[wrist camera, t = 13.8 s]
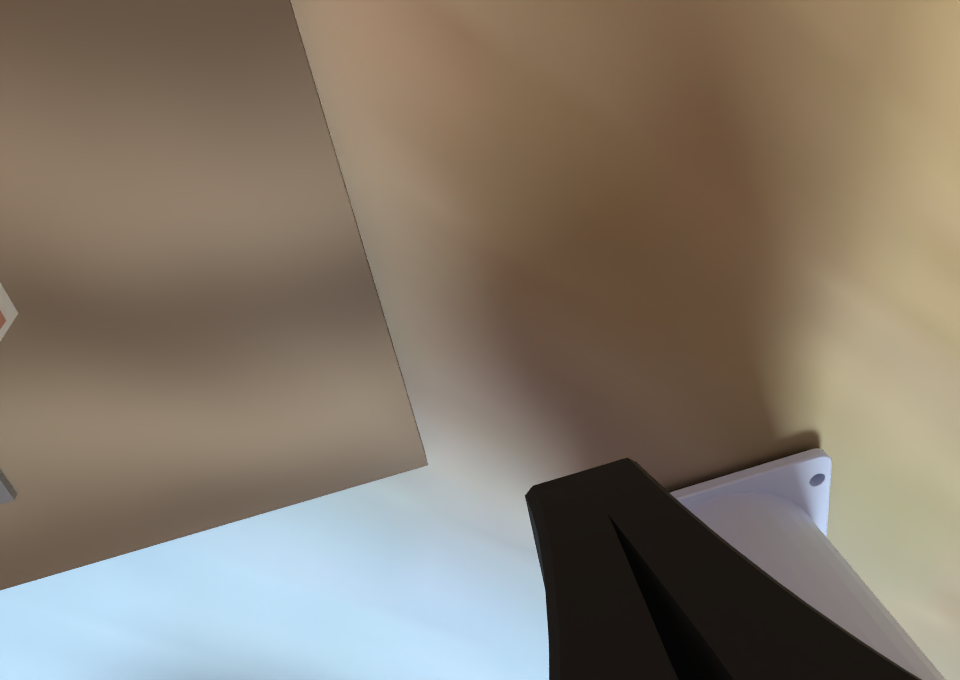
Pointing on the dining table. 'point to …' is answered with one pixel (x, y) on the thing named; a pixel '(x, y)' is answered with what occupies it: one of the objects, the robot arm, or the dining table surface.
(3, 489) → the bookend
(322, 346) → the shelf
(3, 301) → the cream box brown top
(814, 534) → the robot arm
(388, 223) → the dining table surface
